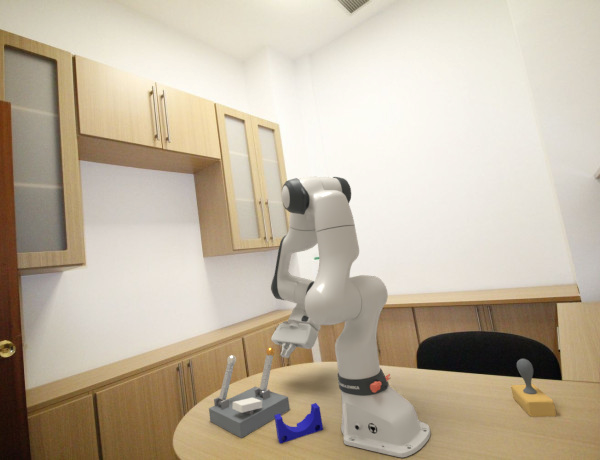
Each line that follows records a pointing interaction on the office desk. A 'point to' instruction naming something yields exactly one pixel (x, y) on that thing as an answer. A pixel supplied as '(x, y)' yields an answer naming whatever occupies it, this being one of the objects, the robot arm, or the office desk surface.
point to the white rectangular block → (247, 405)
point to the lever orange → (266, 370)
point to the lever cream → (226, 379)
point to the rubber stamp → (531, 393)
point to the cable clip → (299, 425)
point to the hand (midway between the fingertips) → (284, 356)
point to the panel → (248, 412)
